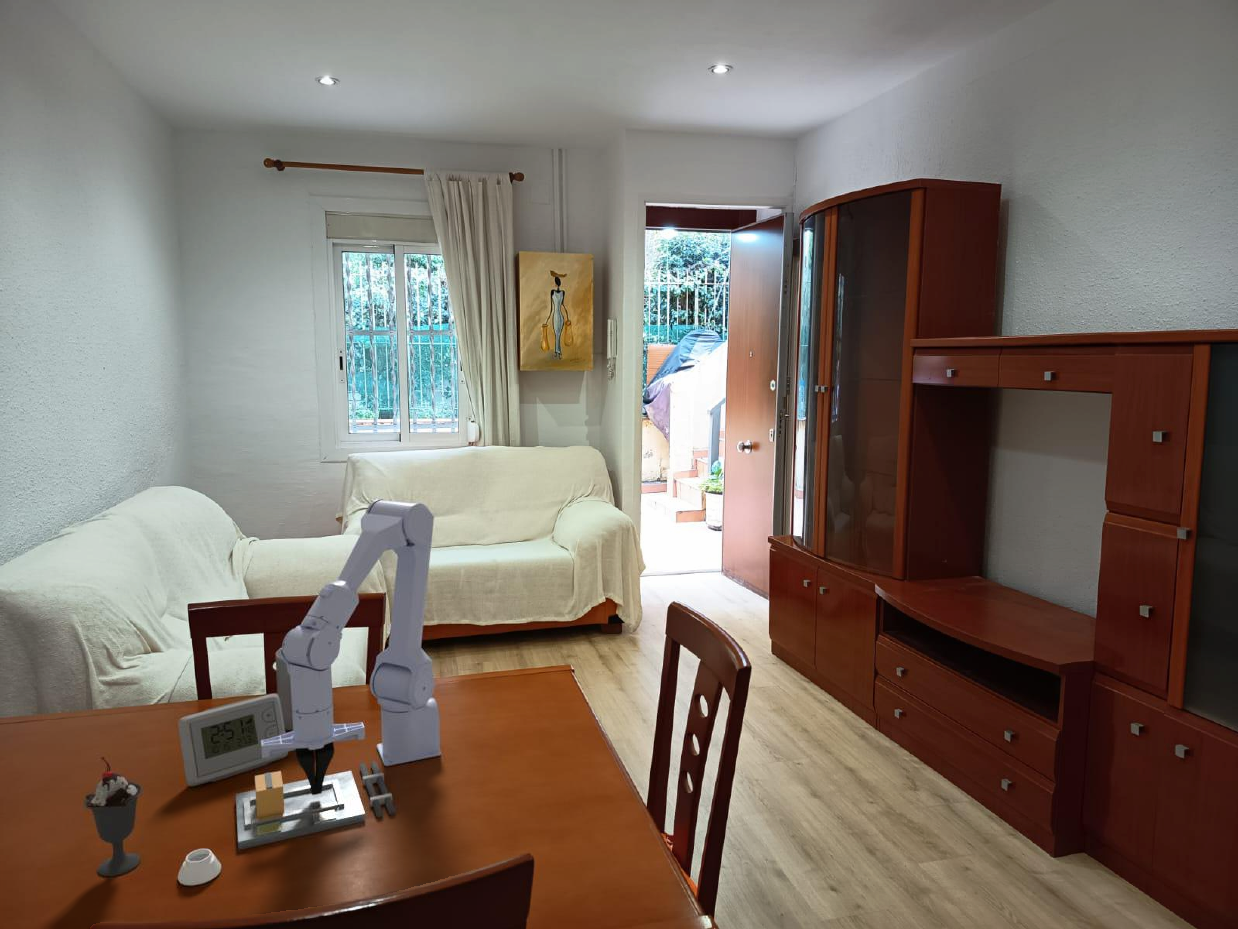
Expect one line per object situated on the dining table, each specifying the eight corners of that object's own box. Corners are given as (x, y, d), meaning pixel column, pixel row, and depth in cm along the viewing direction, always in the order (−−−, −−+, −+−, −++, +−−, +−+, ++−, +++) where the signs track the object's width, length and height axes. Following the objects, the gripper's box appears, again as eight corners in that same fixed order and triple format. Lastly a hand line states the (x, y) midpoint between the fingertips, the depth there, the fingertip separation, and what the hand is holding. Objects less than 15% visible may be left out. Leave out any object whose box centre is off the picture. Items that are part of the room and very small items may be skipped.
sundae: (105, 852, 113) (97, 748, 111) (156, 850, 114) (149, 747, 112) (78, 882, 107) (69, 773, 105) (132, 880, 107) (125, 771, 105)
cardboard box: (282, 798, 125) (280, 769, 124) (284, 814, 120) (283, 785, 120) (256, 803, 123) (254, 774, 123) (257, 820, 119) (256, 790, 118)
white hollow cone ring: (208, 889, 106) (228, 865, 111) (207, 867, 106) (227, 844, 110) (170, 887, 106) (191, 864, 111) (169, 866, 106) (190, 843, 111)
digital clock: (183, 792, 129) (179, 728, 128) (179, 768, 137) (175, 707, 135) (292, 767, 137) (290, 706, 136) (283, 745, 145) (280, 687, 144)
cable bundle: (377, 765, 138) (377, 758, 138) (396, 813, 123) (396, 807, 123) (357, 769, 137) (357, 762, 136) (375, 818, 122) (374, 812, 122)
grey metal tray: (351, 777, 134) (351, 767, 134) (365, 821, 121) (364, 809, 121) (236, 801, 126) (235, 790, 126) (238, 850, 114) (237, 838, 114)
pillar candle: (295, 707, 161) (291, 633, 158) (343, 710, 159) (339, 635, 157) (268, 729, 151) (263, 651, 149) (318, 733, 150) (314, 654, 148)
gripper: (260, 725, 116) (265, 815, 118) (366, 707, 122) (369, 793, 124) (258, 706, 122) (263, 792, 124) (359, 690, 129) (362, 772, 130)
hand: (316, 791), depth 125 cm, fingers closed
